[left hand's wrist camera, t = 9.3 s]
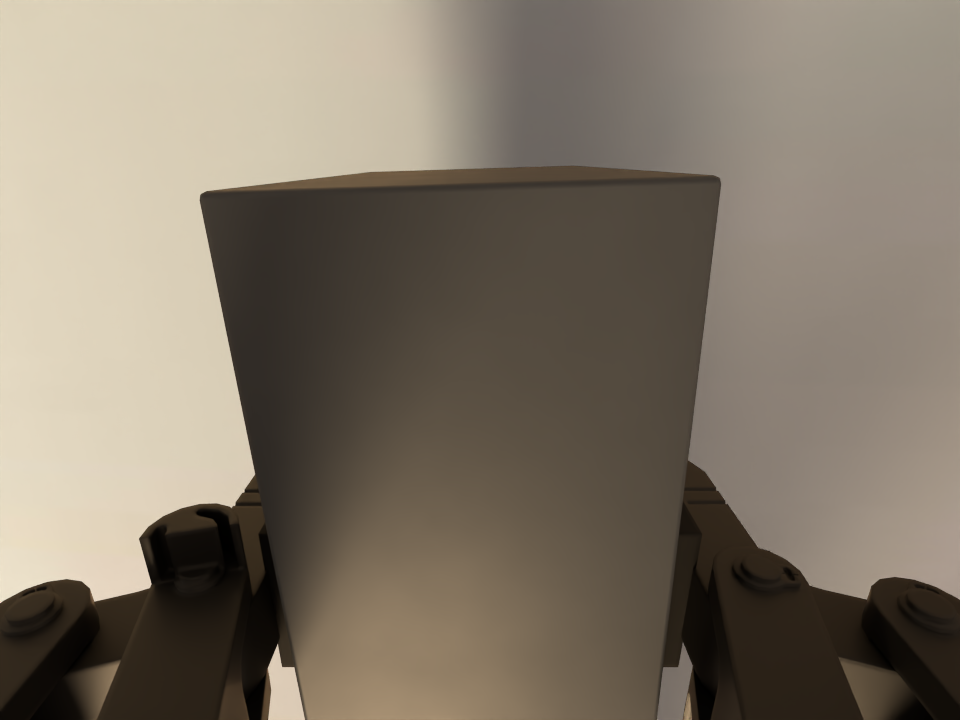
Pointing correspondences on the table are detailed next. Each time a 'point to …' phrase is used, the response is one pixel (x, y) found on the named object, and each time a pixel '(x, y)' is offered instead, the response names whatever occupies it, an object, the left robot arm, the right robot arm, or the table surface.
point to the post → (470, 428)
